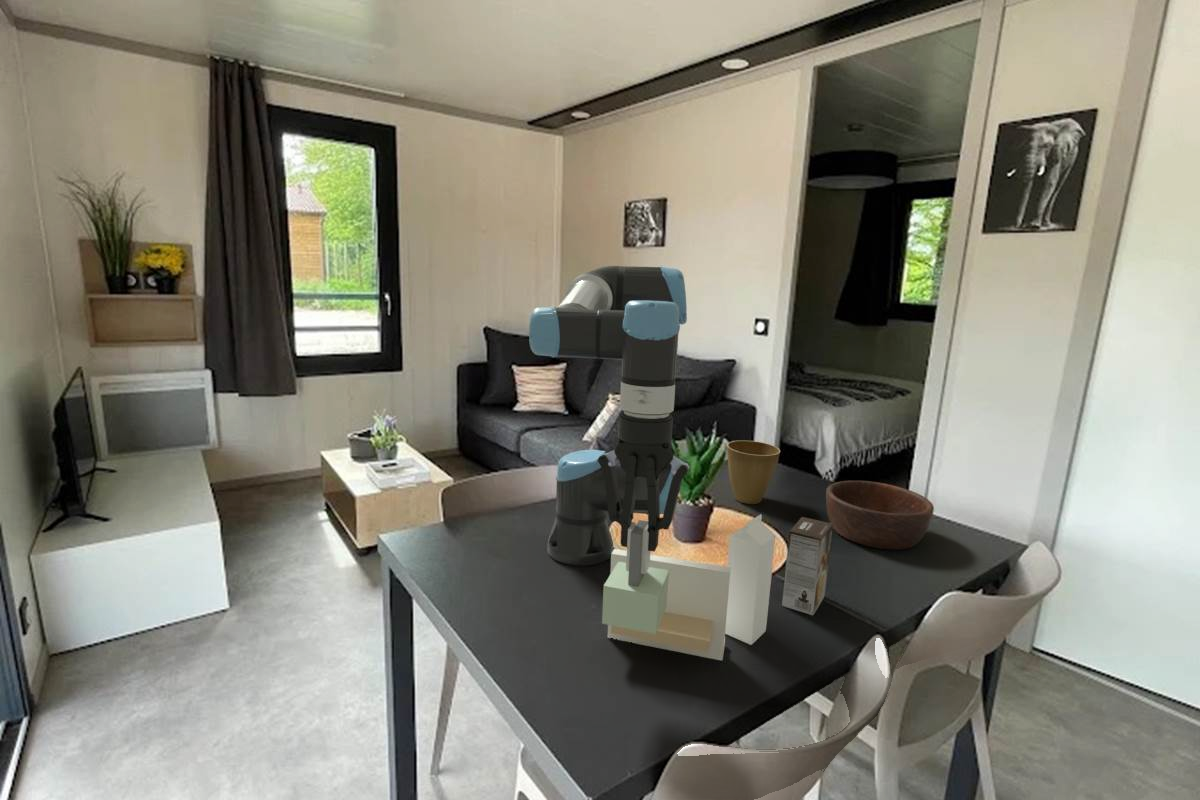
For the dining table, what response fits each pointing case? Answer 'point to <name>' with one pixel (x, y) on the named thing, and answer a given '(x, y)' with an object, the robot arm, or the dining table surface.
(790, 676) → the dining table surface
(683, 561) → the wall board
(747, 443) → the plant pot
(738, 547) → the milk
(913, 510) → the wooden bowl
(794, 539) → the coffee box
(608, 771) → the dining table surface
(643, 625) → the green block with handle
